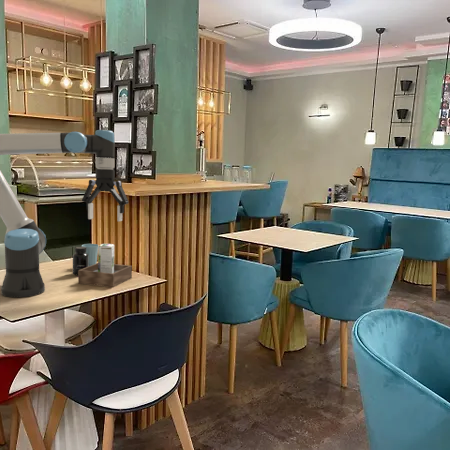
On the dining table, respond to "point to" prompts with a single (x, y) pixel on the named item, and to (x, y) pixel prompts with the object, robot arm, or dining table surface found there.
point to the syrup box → (106, 258)
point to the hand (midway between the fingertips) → (105, 220)
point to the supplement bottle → (80, 259)
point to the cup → (91, 253)
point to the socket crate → (104, 275)
